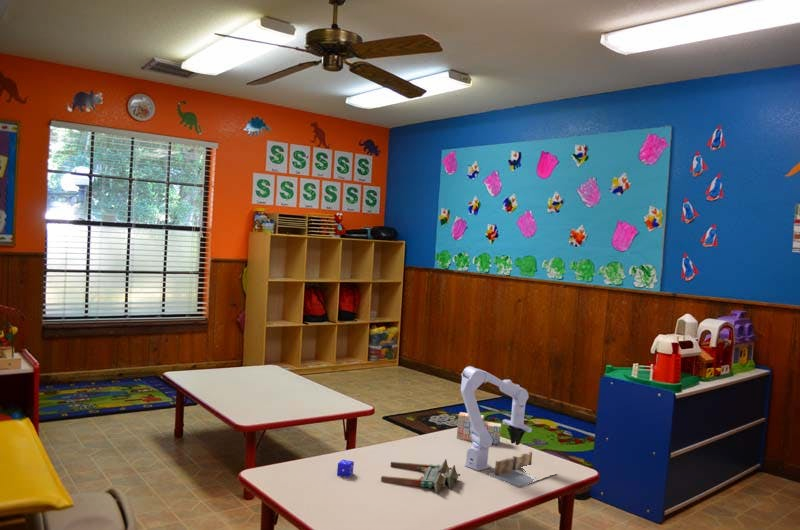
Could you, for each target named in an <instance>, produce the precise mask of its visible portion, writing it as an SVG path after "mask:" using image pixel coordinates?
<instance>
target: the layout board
mask: <svg viewBox="0 0 800 530" xmlns="http://www.w3.org/2000/svg"><path fill="white" fill-rule="evenodd" d="M523 470H524V469H523V468H521V467H520V468H517V469H515V470H513V471H510V472H507V473H503V474H500V475H498V476H496V475H495V471H492V472H490V473H487V475H488V476H489V475H490V476H489V477H492V476H493V477H492V478H494V477H495V479H497V478H498V479H497V480H499V479H500V480H499V481H502V480H503V481H502V482H504V481H505V482H504V483H506V482H508V483H507V484H509V483H510V485H511V484H513V485H512V486H514V485H515V486H514V487H516V486H518V487H517V488H519V487H520V488H522V487H521V486H523V485H526V484H528V483H530V482H533V480H534V479H537V478H536V477H533V476H531V475H530V474H529V475H528V474H527V473H525V472H526V471H525V470H524V471H525V472H524V471H523ZM529 476H530V477H529ZM531 477H533V478H534V479H531ZM528 485H529V484H528ZM526 486H527V485H526ZM523 487H524V486H523Z"/></svg>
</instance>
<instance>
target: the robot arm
mask: <svg viewBox="0 0 800 530" xmlns="http://www.w3.org/2000/svg"><path fill="white" fill-rule="evenodd" d="M460 375H461V383H460V393H461V397H462V399H463V402H464V407H465V409H466V410H465V411H466V413H468V416H469V419H470V422H471V426H472V427H471V428H470V430H471V439H472V441H471V442H472V446H471V447H470V448H468V449H467V451H466V457H465V459H466V460H465V464H464V466H465V467H467V468H470V469H473V470H474V471H478V472H479V471H483V470H486V469H489V468H491V467H492V465H490V464H488V462H489V461H488V460H489V451H490V447H491V446H492V445H493V444H492V437H491V436H490V435H489V433H488V430H487V429H486V427H485V426H484V424H483V421H482V418H481V415H482V414H481V412H480V408H479V405H478V402H477V398H476V395H475V391H476V390H477V389H478V388H479V387H480V386H481V385H482V384H483V383H487V382H488V383H491V384H492V385H495V386H497V387H498V388H499V391H500V392H502V393H503V394H505V395H507V396H510V397H511V398H512V403H511V415H510V419H506V418H505V419H502V423H501V425H505V426H508V427H506V428H507V432H508V434H509V439H510V444H512V445H513V444H515V445H516V446H519V445H520V443H521V440H522V438H523V436H524V435H525V433H526V432H527V433H532V431H533V430H532V429H533V427H531V426H528V425H527V424H525V423H524V421H525V412H526V411H525V410H526V404H527V401H528V400H529V398H530V396H529V392H528V390H527V389H525V388H523V387H520V386H521V385H520V384H517V383H513V380H511V379H503V380H501V379H500V378H498V377H497V376H496V375H493V374H491V373H490V372H487V371H485V370H484V369H483V370H482V369H480V368H477V367H476V368H475V367H474V366H472V365H469V366H466V367H465V368H464V369H463V370H462V373H461V374H460Z"/></svg>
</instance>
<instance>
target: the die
mask: <svg viewBox="0 0 800 530" xmlns="http://www.w3.org/2000/svg"><path fill="white" fill-rule="evenodd" d="M354 462H355V461H353V460H347V459H342V460H340V461H339V462H338V463H337V469H336V470H337V471H336V475H337V476H339V475H341V476H340V477H343V476H345V477H344V478H349V477H350V475H351V476H352V475H353V474H354V465H355V463H354Z"/></svg>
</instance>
